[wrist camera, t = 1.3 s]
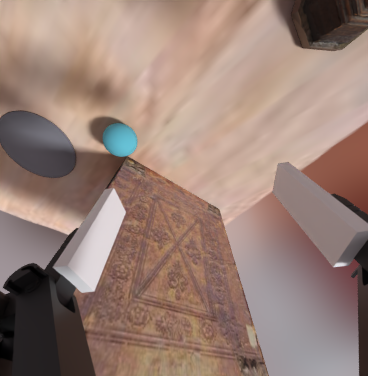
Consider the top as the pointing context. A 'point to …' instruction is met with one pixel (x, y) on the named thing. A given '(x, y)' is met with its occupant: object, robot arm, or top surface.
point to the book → (168, 289)
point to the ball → (119, 139)
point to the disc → (36, 144)
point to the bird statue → (329, 22)
